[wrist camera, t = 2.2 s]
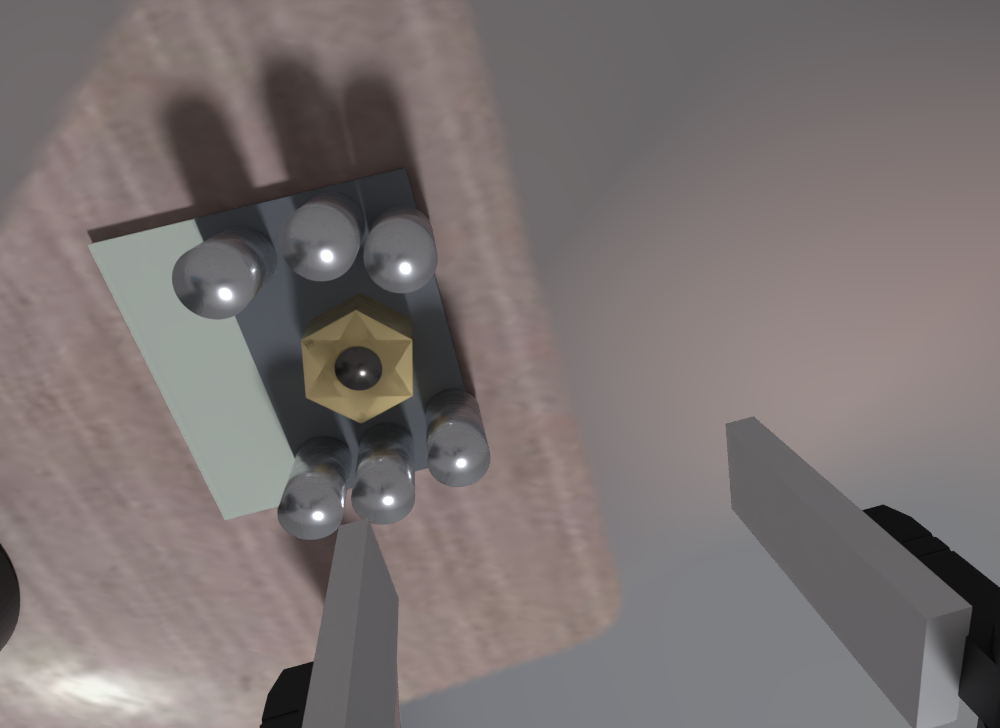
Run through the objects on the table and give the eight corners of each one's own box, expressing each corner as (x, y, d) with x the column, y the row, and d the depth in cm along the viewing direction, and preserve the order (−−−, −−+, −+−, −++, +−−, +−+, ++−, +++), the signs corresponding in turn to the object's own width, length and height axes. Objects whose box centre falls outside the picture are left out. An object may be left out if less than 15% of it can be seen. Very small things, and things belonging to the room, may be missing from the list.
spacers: (308, 491, 34) (292, 549, 29) (196, 223, 28) (153, 244, 23) (488, 443, 34) (500, 494, 30) (417, 170, 28) (418, 179, 23)
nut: (342, 410, 32) (335, 437, 29) (286, 333, 30) (273, 355, 27) (436, 359, 32) (438, 382, 29) (386, 278, 30) (383, 294, 27)
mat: (227, 514, 34) (224, 521, 34) (92, 242, 28) (86, 245, 27) (481, 448, 35) (482, 453, 34) (405, 167, 28) (405, 168, 28)
